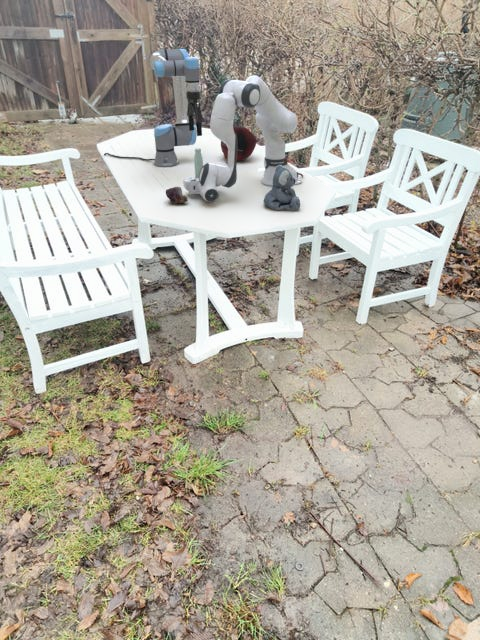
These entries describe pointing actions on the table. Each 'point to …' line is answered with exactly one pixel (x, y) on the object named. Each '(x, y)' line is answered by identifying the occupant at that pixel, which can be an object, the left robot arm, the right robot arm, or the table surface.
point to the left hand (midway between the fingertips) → (195, 133)
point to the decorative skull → (241, 143)
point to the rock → (176, 195)
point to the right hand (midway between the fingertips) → (199, 178)
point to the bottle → (198, 162)
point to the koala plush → (282, 191)
